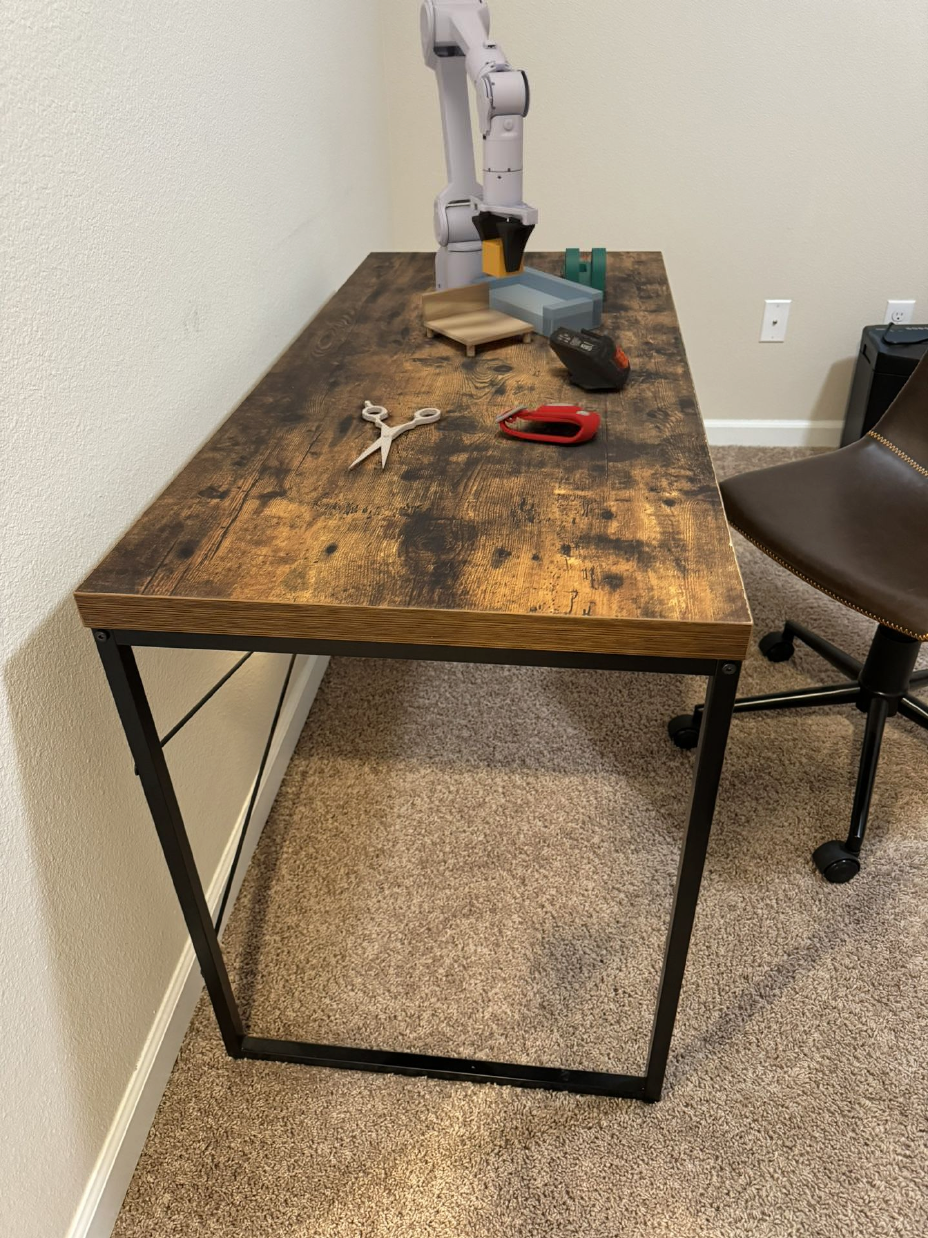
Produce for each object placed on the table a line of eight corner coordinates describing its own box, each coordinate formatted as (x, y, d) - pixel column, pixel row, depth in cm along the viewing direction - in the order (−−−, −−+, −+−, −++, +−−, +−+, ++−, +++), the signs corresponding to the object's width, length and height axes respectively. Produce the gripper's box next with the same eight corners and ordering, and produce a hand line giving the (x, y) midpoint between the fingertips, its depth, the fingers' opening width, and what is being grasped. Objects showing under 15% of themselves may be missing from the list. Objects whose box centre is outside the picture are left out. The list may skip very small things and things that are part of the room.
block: (482, 271, 139) (482, 240, 137) (506, 267, 141) (506, 236, 139) (499, 278, 136) (499, 246, 134) (523, 273, 138) (524, 241, 136)
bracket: (604, 300, 158) (607, 252, 154) (564, 300, 159) (566, 253, 154) (598, 273, 173) (600, 229, 168) (562, 273, 173) (564, 229, 169)
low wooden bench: (423, 336, 145) (421, 293, 141) (486, 321, 150) (485, 280, 146) (469, 357, 136) (468, 313, 132) (534, 341, 141) (534, 298, 137)
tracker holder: (559, 401, 117) (617, 404, 110) (558, 436, 119) (615, 441, 111) (486, 403, 110) (543, 406, 103) (486, 440, 111) (541, 446, 104)
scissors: (444, 403, 119) (410, 469, 103) (444, 409, 119) (411, 475, 103) (365, 400, 120) (320, 464, 104) (366, 406, 121) (320, 470, 105)
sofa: (472, 306, 157) (471, 273, 154) (519, 296, 162) (519, 264, 158) (551, 338, 142) (552, 302, 139) (600, 326, 146) (602, 291, 143)
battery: (611, 409, 122) (644, 369, 122) (580, 367, 117) (615, 326, 117) (559, 391, 131) (590, 354, 131) (529, 351, 126) (561, 313, 126)
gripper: (452, 165, 134) (455, 262, 142) (509, 178, 124) (509, 282, 132) (491, 160, 137) (492, 255, 145) (550, 172, 127) (548, 274, 135)
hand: (502, 267), depth 139 cm, fingers closed on block, 4 cm apart
